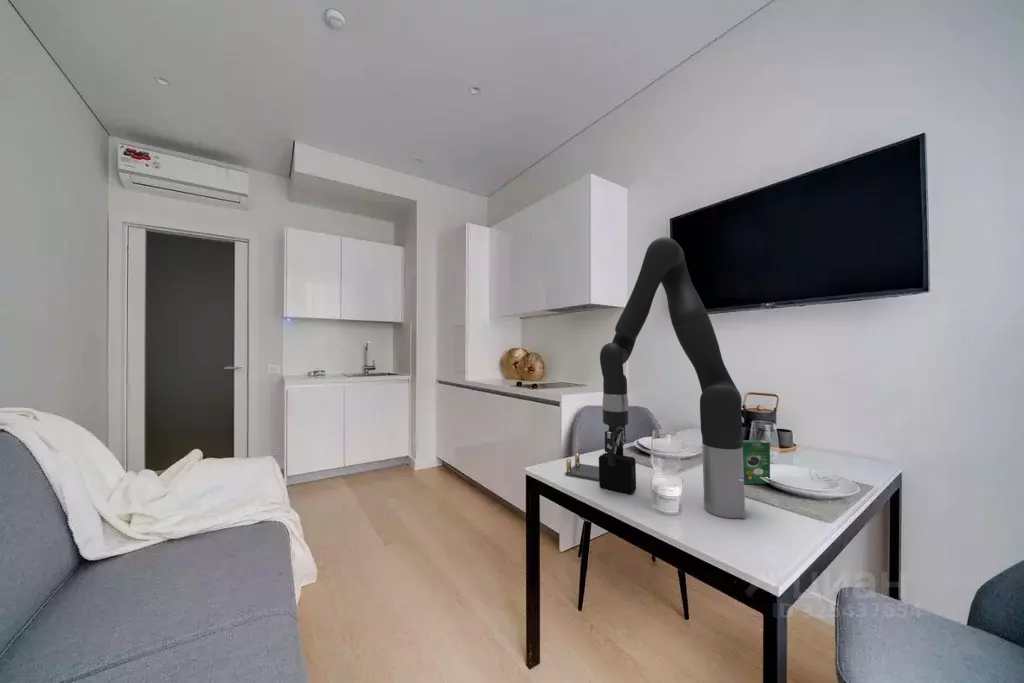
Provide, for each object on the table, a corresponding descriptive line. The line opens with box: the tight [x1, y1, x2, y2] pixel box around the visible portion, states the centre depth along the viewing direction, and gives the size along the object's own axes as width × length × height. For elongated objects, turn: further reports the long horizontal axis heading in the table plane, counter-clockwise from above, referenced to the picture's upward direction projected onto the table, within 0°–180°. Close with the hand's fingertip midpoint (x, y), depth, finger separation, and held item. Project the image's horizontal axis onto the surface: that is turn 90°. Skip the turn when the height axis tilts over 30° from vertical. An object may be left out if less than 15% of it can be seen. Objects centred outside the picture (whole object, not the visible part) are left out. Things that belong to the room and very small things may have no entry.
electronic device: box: [598, 452, 637, 496], centre depth 111 cm, size 4×10×10 cm, turn 53°
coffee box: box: [743, 439, 771, 485], centre depth 114 cm, size 8×3×13 cm, turn 87°
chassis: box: [565, 452, 599, 483], centre depth 124 cm, size 15×11×5 cm
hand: (615, 461), depth 111 cm, fingers open, 8 cm apart
